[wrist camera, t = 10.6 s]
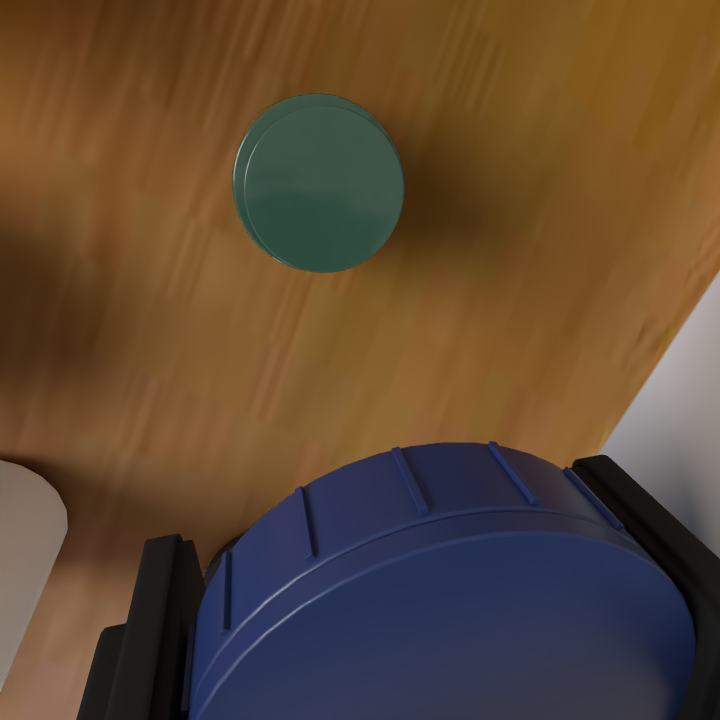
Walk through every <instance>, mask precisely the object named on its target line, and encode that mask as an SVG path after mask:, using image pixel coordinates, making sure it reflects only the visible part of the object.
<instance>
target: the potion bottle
mask: <svg viewBox="0 0 720 720" xmlns="http://www.w3.org/2000/svg"><path fill="white" fill-rule="evenodd" d="M67 530H68V524H67V510H66V508H65V506H64V504H63V502H62V500H61V498H60V496H59V494H58V492H57V491H56V490H55V489H54V488H53V487H52V486H51V485H50V484H49V483H48V482H47V481H46V480H45V479H44V478H43V477H42V476H40V475H38V474H36V473H34V472H32V471H31V470H29V469H27V468H25V467H23V466H21V465H17V464H13V463H9V462H5V461H2V460H0V692H1V690H2V687H3V685H4V682H5V680H6V678H7V675H8V673H9V670H10V668H11V666H12V663H13V661H14V658H15V656H16V654H17V651H18V649H19V646H20V644H21V642H22V639H23V637H24V634H25V632H26V630H27V627H28V625H29V622H30V620H31V618H32V615H33V613H34V610H35V608H36V606H37V603H38V601H39V598H40V596H41V594H42V591H43V589H44V586H45V584H46V582H47V579H48V577H49V574H50V572H51V570H52V567H53V565H54V562H55V560H56V558H57V555H58V553H59V550H60V548H61V546H62V543H63V540H64V538H65V535H66V533H67Z"/></svg>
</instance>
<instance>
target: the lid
mask: <svg viewBox="0 0 720 720" xmlns="http://www.w3.org/2000/svg"><path fill="white" fill-rule="evenodd" d="M624 527H625V526H624V525H623V524H622V523H621V522H620V521H619V520H618V519H617V518H616V517H615V516H614V514H613V513H612V512H611V511H610V510H609V509H608V508H607V507H606V506H605V505H604V504H603V503H602V502H601V501H600V500H599V499H598V497H597V496H596V495H595V494H594V493H593V492H592V491H591V490H590V489H589V488H588V487H587V486H586V485H585V484H584V483H583V482H582V481H581V479H580V478H579V477H578V476H577V475H576V474H575V473H574V472H573V471H572V470H571V469H570V468H568V467H565V469H564V470H562V469H560V468H559V467H557V466H556V465H554V464H552V463H550V462H548V461H545V460H543V459H541V458H539V457H536V456H534V455H532V454H529V453H525V452H522V451H518V450H514V449H510V448H507V447H503V446H499V445H498V444H497V443H496V442H492V441H490V442H489V444H481V443H435V444H426V445H418V446H410V447H406V448H401V449H400V448H399V447H395V448H392V451H388V452H384V453H380V454H376V455H374V456H371V457H368V458H365V459H362V460H359V461H356V462H354V463H351V464H348V465H345V466H343V467H341V468H339V469H337V470H335V471H333V472H331V473H328V474H326V475H324V476H322V477H320V478H318V479H316V480H314V481H313V482H311V483H309V484H308V485H306V486H304V487H302V486H300V487H298V488H296V489H295V493H293V494H292V495H290V496H288V497H287V498H285V499H284V500H283V501H282V502H280V503H279V504H278V505H277V506H275V507H274V508H273V509H271V510H270V511H269V512H268V513H266V514H265V515H264V516H263V517H261V518H260V519H259V520H258V521H257V522H256V523H255V524H254V525H253V526H252V527H251V528H250V529H249V530H248V531H247V532H246V533H245V534H244V535H243V536H242V537H241V538H240V539H239V541H238V542H237V543H236V545H235V546H234V547H233V549H232V550H231V551H230V552H228V551H225V552H224V554H223V555H222V563H221V564H220V566H219V568H218V570H217V571H216V573H215V575H214V577H213V578H212V580H211V582H210V584H209V585H208V587H207V589H206V592H205V594H204V597H203V600H202V602H201V605H200V608H199V610H198V613H197V618H196V623H195V624H190V625H189V629H188V638H187V648H186V658H185V667H184V677H183V687H182V697H181V707H180V716H186V718H185V720H675V719H676V717H677V715H678V713H679V711H680V709H681V707H682V704H683V701H684V698H685V694H686V691H687V687H688V683H689V680H690V676H691V673H692V669H693V665H694V661H695V655H696V635H695V630H694V624H693V619H692V616H691V614H690V611H689V609H688V607H687V604H686V602H685V599H684V597H683V595H682V594H681V593H680V591H679V590H678V588H677V587H676V586H675V584H674V583H673V581H672V580H671V579H670V578H669V576H668V575H667V573H666V572H665V571H664V570H663V569H662V568H661V567H660V566H659V565H658V564H657V563H656V562H655V561H654V560H653V558H652V557H651V556H650V555H649V554H648V553H647V552H646V551H645V550H644V549H643V548H642V547H641V546H640V545H639V544H638V542H637V541H636V540H635V539H634V538H633V537H632V536H631V535H630V534H629V533H628V532H627V531H626V530H625V529H624Z"/></svg>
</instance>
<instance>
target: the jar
mask: <svg viewBox="0 0 720 720" xmlns="http://www.w3.org/2000/svg"><path fill="white" fill-rule="evenodd" d="M404 175H405V174H404V170H403V167H402V164H401V160H400V157H399V152H398V151H397V149H396V147H395V146H394V144H393V142H392V140H391V138H390V136H389V134H388V133H387V132H386V130H385V129H384V127H383V126H382V125H381V124H380V122H379V121H378V120H377V119H376V118H375V117H374V116H373V115H371V114H370V113H369V112H368V111H367V110H365V109H364V108H362V107H361V106H359V105H358V104H356V103H354V102H352V101H349V100H347V99H345V98H341V97H338V96H335V95H328V94H305V95H299V96H295V97H292V98H289V99H286V100H283V101H280V102H277V103H274V104H272V105H270V106H268V107H266V108H265V109H263V110H262V111H260V112H259V113H258V114H257V115H256V116H255V117H254V118H253V119H252V120H251V121H250V122H249V123H248V125H247V126H246V128H245V130H244V131H243V133H242V135H241V138H240V140H239V143H238V146H237V151H236V156H235V162H234V168H233V180H232V186H233V197H234V201H235V206H236V209H237V212H238V215H239V218H240V220H241V222H242V224H243V226H244V228H245V230H246V231H247V233H248V234H249V236H250V237H251V238H252V240H253V241H254V242H255V243H256V244H257V245H258V246H259V248H261V249H262V250H263V251H264V252H265V253H266V254H267V255H269V256H270V257H272V258H273V259H275V260H276V261H278V262H280V263H282V264H284V265H286V266H289V267H292V268H295V269H299V270H303V271H310V272H317V273H332V272H338V271H343V270H346V269H349V268H352V267H354V266H357V265H359V264H361V263H363V262H364V261H366V260H367V259H369V258H370V257H371V256H373V255H374V254H375V253H376V252H378V250H379V249H380V248H381V247H382V246H383V245H384V244H385V243H386V241H387V240H388V238H389V237H391V235H392V233H393V230H394V228H395V226H396V224H397V222H398V220H399V218H400V216H401V211H402V206H403V201H404V197H405V182H404Z"/></svg>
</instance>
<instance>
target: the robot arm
mask: <svg viewBox="0 0 720 720" xmlns="http://www.w3.org/2000/svg"><path fill="white" fill-rule="evenodd" d="M570 469H571V470H572V471H573V472H574V473H575V474H576V475H577V476H578V477H579V478H580V479H581V481H582V482H583V483H584V484H585V485H586V486H587V487H588V488H589V489H590V490H591V491H592V492H593V493H594V494H595V495H596V496H597V497H598V499H599V500H600V501H601V502H602V503H603V504H604V505H605V506H606V507H607V508H608V509H609V510H610V511H611V512H612V513H613V514H614V516H615V517H616V518H617V519H618V520H619V521H620V522H621V523H622V524H623V525H624V526H625V527H624V529H625V530H626V531H627V532H628V533H629V534H630V535H631V536H632V537H633V538H634V539H635V540H636V541H637V542H638V544H639V545H640V546H641V547H642V548H643V549H644V550H645V551H646V552H647V553H648V554H649V555H650V556H651V557H652V558H653V560H654V561H655V562H656V563H657V564H658V565H659V566H660V567H661V568H662V569H663V570H664V571H665V572H666V573H667V575H668V576H669V578H670V579H671V580H672V581H673V583H674V584H675V586H676V587H677V588H678V590H679V591H680V593H681V594H682V595H683V597H684V599H685V602H686V604H687V607H688V609H689V611H690V614H691V616H692V619H693V624H694V630H695V635H696V655H695V661H694V665H693V669H692V673H691V676H690V680H689V683H688V687H687V691H686V694H685V698H684V701H683V704H682V707H681V709H680V711H679V713H678V715H677V717H676V719H675V720H720V559H719V558H718V557H717V556H716V555H715V554H714V553H712V551H710V550H709V549H708V548H707V547H706V546H705V545H704V544H703V543H702V542H701V541H699V539H697V538H696V537H695V536H694V535H693V534H692V533H691V532H690V531H689V530H688V529H686V527H684V526H683V525H682V524H681V523H680V522H679V521H678V520H677V519H676V518H675V517H674V516H672V515H671V514H670V513H669V512H668V511H667V510H666V509H665V508H664V507H663V506H662V505H660V504H659V503H658V502H657V501H656V500H655V499H654V498H653V497H652V496H651V495H649V493H647V492H646V491H645V490H644V489H643V488H642V487H641V486H640V485H639V484H638V483H637V482H636V481H634V480H633V479H632V478H631V477H630V476H629V475H628V474H627V473H626V472H625V471H624V470H623V469H621V468H620V467H619V466H618V465H617V464H616V463H615V462H614V461H613V460H612V459H610V458H609V457H608V456H606V455H597V456H592V457H587V458H581V459H577V460H575V461H574V462H573V465H572V468H570ZM205 592H206V587H205V583H204V580H203V576H202V572H201V568H200V564H199V560H198V556H197V552H196V549H195V545H194V542H193V540H187V541H183V540H182V537H181V535H180V534H174V535H169V536H163V537H158V538H152V539H147V541H146V542H145V545H144V549H143V553H142V558H141V562H140V566H139V571H138V575H137V579H136V584H135V588H134V593H133V597H132V601H131V606H130V610H129V614H128V619H127V623H126V624H121V625H116V626H111V627H107V628H105V629H104V630H103V631H102V633H101V635H100V638H99V640H98V643H97V647H96V650H95V654H94V658H93V661H92V665H91V669H90V672H89V676H88V679H87V683H86V687H85V690H84V694H83V698H82V701H81V705H80V708H79V712H78V716H77V719H76V720H185V718H186V716H180V707H181V697H182V687H183V677H184V667H185V658H186V648H187V638H188V629H189V625H190V624H195V623H196V618H197V613H198V610H199V608H200V605H201V602H202V600H203V597H204V594H205Z"/></svg>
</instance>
